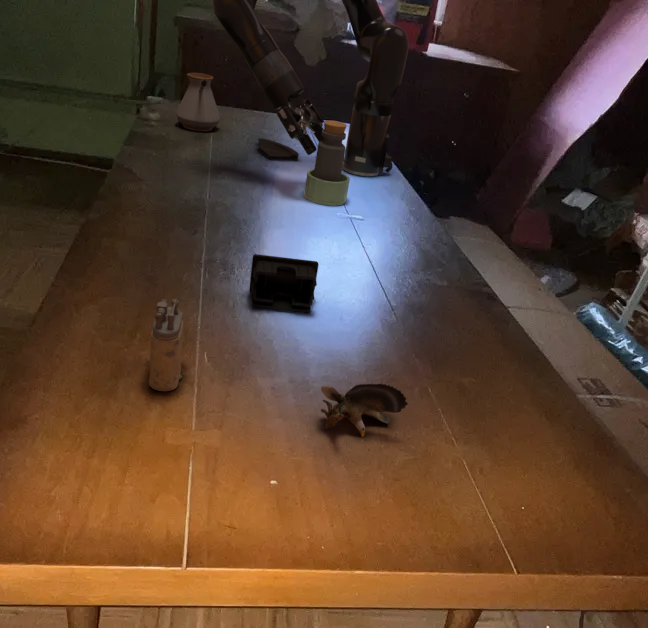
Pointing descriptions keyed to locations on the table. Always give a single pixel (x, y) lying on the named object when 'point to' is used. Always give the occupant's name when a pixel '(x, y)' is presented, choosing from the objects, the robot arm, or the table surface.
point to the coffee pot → (198, 104)
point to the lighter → (166, 347)
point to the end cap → (283, 283)
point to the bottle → (330, 152)
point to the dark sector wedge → (276, 150)
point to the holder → (326, 190)
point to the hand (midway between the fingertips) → (320, 149)
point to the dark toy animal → (363, 403)
